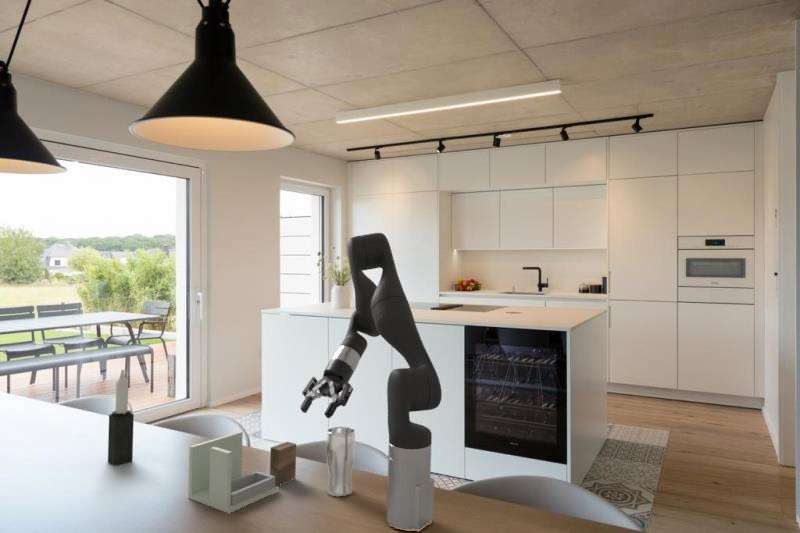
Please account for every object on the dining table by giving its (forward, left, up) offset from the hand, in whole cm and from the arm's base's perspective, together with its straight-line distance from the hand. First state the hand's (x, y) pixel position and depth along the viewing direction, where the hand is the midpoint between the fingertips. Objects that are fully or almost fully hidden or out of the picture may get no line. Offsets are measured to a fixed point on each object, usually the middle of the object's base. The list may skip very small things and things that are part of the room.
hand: (314, 413), depth 154 cm
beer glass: (-16, +9, -15) cm, 23 cm away
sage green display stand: (+3, +25, -15) cm, 29 cm away
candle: (+45, +28, -15) cm, 55 cm away
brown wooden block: (0, +12, -15) cm, 19 cm away
